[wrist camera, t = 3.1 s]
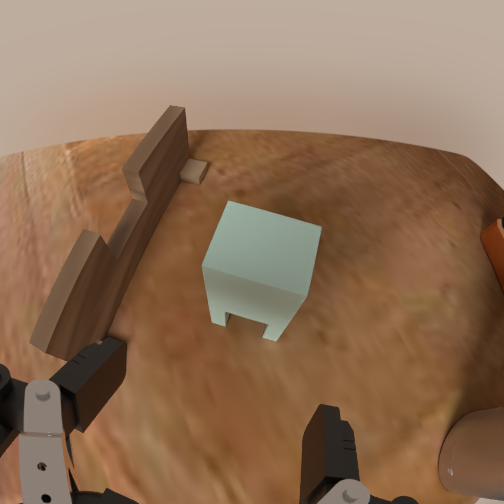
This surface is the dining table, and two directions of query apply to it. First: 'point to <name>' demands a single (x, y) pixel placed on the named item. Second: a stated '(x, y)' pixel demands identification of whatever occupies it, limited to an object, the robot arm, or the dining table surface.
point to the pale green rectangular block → (259, 267)
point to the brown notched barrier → (116, 243)
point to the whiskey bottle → (495, 247)
